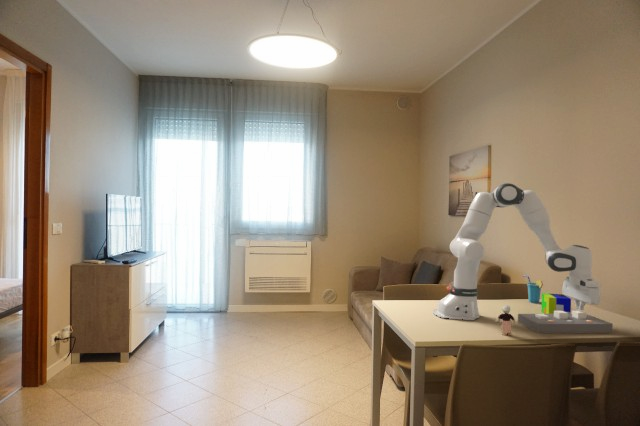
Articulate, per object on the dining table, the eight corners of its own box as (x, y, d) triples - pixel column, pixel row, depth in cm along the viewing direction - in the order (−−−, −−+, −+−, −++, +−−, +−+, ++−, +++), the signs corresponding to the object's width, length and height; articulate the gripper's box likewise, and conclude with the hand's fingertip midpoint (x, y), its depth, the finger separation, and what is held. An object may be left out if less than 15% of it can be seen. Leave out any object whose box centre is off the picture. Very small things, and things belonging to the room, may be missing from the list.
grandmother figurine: (511, 333, 171) (512, 304, 171) (516, 336, 167) (517, 306, 167) (494, 333, 171) (495, 304, 170) (498, 335, 167) (499, 306, 166)
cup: (517, 299, 234) (518, 274, 234) (526, 298, 237) (527, 274, 237) (539, 305, 221) (539, 278, 221) (548, 304, 224) (548, 278, 224)
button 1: (540, 322, 180) (540, 316, 180) (535, 320, 184) (535, 313, 184) (548, 322, 180) (548, 316, 180) (543, 320, 184) (543, 313, 184)
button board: (538, 332, 172) (538, 323, 172) (517, 322, 188) (518, 313, 188) (612, 332, 174) (612, 323, 174) (585, 322, 190) (586, 313, 190)
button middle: (559, 319, 180) (559, 312, 180) (553, 316, 184) (553, 310, 184) (567, 319, 181) (567, 312, 181) (561, 316, 185) (561, 310, 185)
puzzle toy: (570, 318, 195) (571, 298, 195) (548, 317, 197) (549, 297, 197) (562, 313, 205) (562, 294, 205) (541, 312, 207) (542, 293, 207)
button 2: (578, 319, 181) (578, 312, 181) (572, 316, 185) (572, 310, 185) (586, 319, 181) (586, 313, 181) (580, 316, 185) (580, 310, 185)
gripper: (558, 276, 193) (558, 303, 193) (589, 284, 173) (589, 315, 173) (571, 276, 193) (570, 303, 194) (603, 284, 173) (602, 315, 173)
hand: (579, 309), depth 183 cm, fingers closed
